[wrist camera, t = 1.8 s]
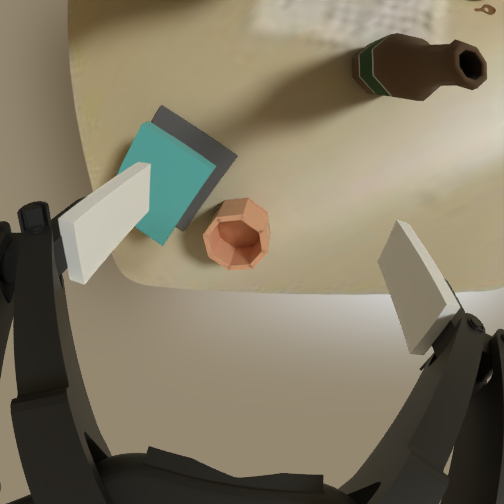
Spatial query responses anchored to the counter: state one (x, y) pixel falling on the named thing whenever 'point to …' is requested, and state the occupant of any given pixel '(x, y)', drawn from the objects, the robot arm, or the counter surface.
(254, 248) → the cup
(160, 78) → the counter surface
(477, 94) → the counter surface
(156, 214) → the board
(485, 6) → the place setting
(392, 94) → the beer bottle
